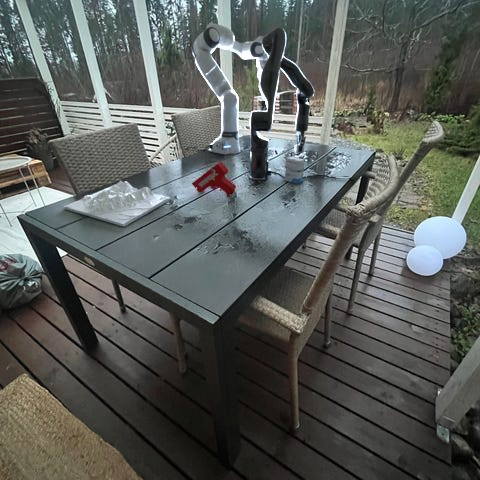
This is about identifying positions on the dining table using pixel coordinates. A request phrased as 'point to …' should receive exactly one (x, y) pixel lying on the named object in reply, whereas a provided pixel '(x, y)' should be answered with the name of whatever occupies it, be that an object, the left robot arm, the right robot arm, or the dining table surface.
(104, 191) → the relief map
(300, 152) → the block
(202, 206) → the dining table surface
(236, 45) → the left robot arm
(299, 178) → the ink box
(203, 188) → the toy gun
